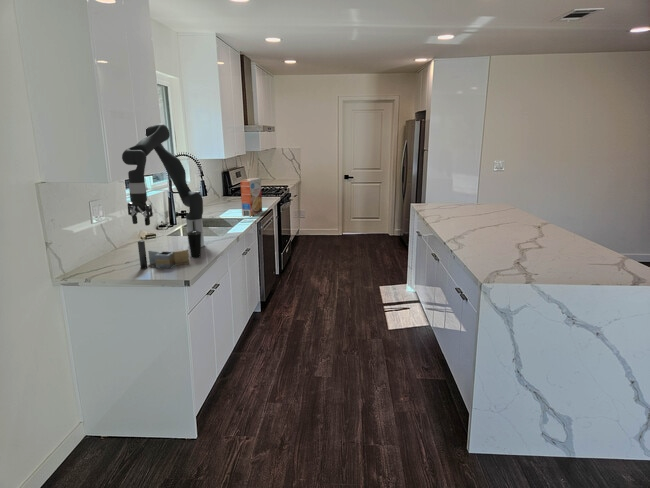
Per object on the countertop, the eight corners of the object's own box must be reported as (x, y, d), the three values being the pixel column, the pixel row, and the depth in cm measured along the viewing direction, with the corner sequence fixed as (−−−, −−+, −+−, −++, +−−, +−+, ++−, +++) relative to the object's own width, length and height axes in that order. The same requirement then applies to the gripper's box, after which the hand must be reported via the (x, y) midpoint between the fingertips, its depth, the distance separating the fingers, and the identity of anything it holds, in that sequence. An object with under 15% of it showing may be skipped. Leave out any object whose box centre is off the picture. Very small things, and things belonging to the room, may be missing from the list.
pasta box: (251, 217, 353) (249, 180, 345) (242, 216, 355) (240, 180, 347) (262, 212, 374) (260, 178, 367) (253, 211, 376) (252, 177, 369)
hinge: (153, 261, 228) (152, 248, 226) (189, 262, 226) (188, 249, 224) (142, 267, 217) (141, 254, 215) (180, 268, 215) (179, 255, 213)
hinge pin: (142, 267, 218) (139, 240, 215) (148, 267, 218) (145, 240, 214) (139, 268, 215) (136, 242, 212) (145, 269, 215) (142, 242, 211)
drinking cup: (205, 256, 237) (203, 221, 232) (193, 259, 231) (190, 223, 226) (198, 254, 242) (195, 219, 237) (186, 256, 236) (183, 221, 231)
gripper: (121, 191, 206) (125, 224, 210) (142, 193, 200) (145, 227, 204) (134, 190, 213) (137, 222, 217) (154, 191, 207) (157, 224, 211)
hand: (141, 224), depth 210 cm, fingers open, 8 cm apart
